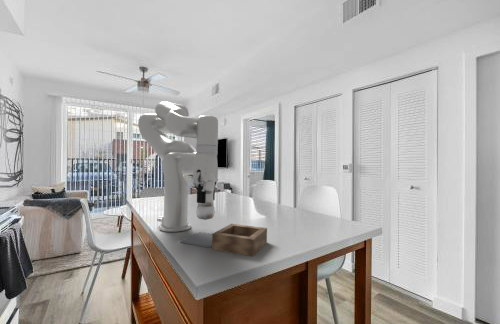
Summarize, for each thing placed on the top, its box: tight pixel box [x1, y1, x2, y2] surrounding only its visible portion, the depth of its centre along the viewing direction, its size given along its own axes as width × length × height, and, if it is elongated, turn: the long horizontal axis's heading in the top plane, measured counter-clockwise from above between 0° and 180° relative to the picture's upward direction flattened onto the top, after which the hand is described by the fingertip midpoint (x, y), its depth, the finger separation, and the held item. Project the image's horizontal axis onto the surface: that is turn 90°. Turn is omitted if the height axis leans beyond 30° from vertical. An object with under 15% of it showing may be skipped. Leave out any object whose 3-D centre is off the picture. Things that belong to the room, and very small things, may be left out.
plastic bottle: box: [196, 173, 216, 221], centre depth 86 cm, size 6×7×20 cm
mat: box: [180, 231, 213, 249], centre depth 86 cm, size 12×12×1 cm
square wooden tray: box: [211, 223, 268, 257], centre depth 81 cm, size 14×14×5 cm
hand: (205, 201), depth 86 cm, fingers closed on plastic bottle, 5 cm apart
